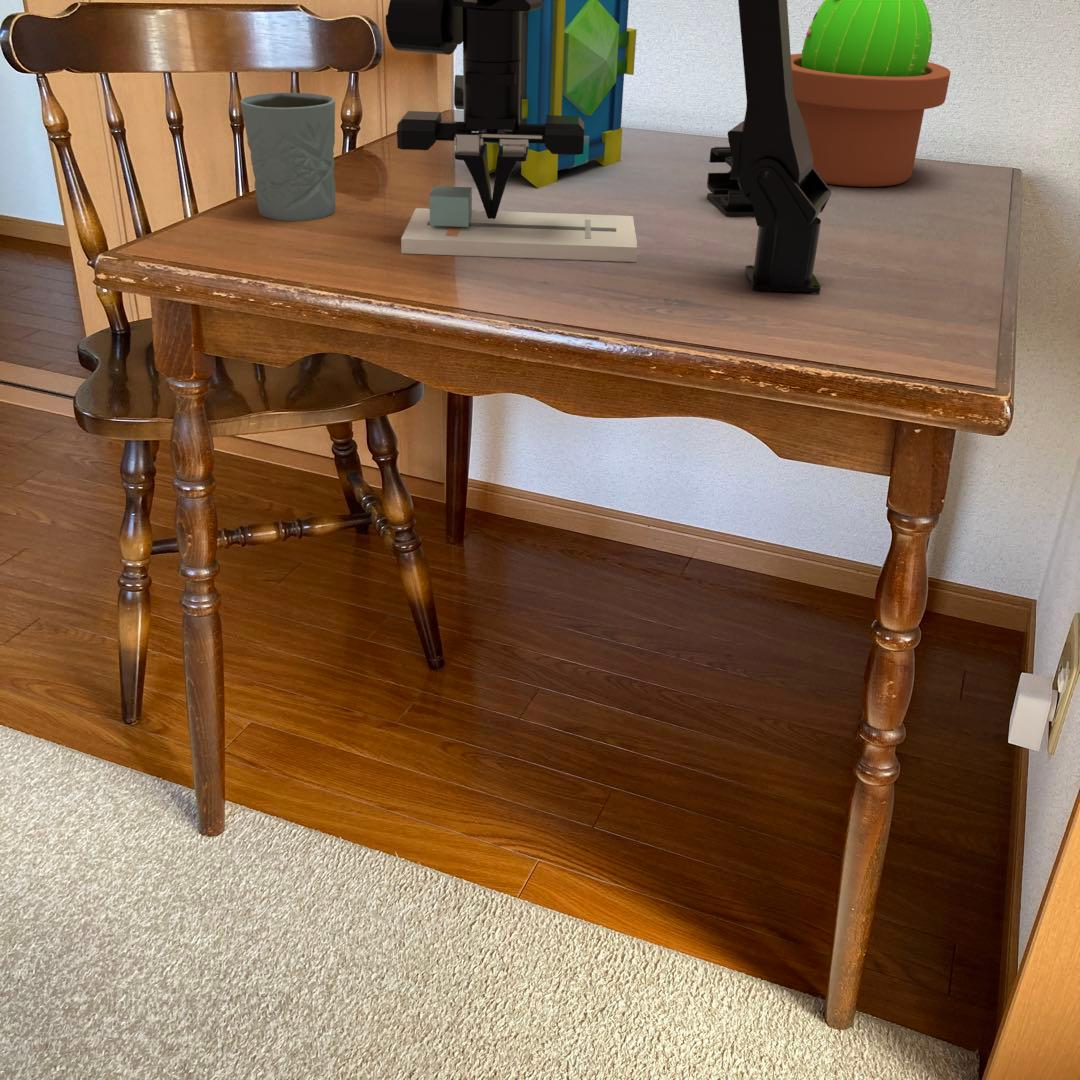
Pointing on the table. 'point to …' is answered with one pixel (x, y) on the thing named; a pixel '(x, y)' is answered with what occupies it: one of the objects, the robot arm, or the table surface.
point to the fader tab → (450, 206)
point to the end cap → (727, 187)
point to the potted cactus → (867, 88)
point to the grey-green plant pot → (292, 154)
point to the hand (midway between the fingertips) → (491, 217)
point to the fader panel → (526, 236)
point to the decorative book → (573, 80)
